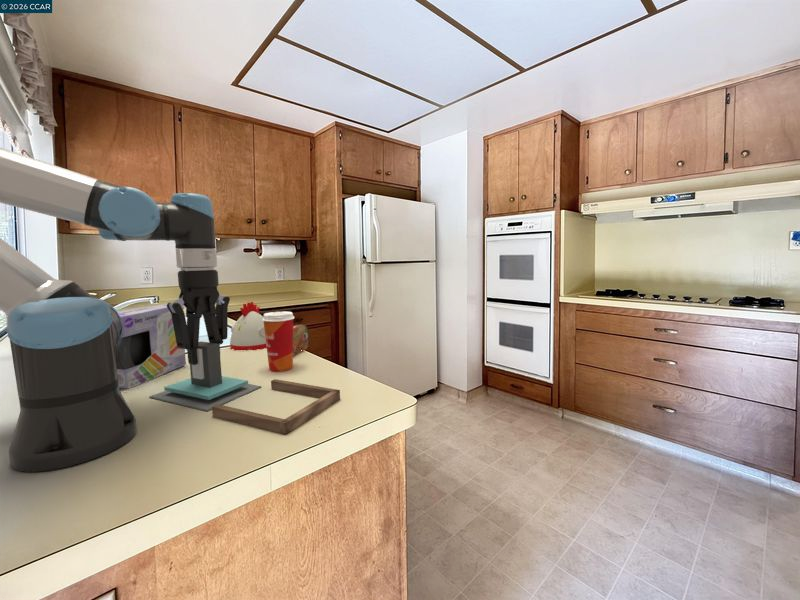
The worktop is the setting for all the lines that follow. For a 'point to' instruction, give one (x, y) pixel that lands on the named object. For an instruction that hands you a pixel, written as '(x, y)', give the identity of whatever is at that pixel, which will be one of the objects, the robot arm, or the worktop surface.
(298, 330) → the tin
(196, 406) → the grey mat
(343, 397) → the worktop surface
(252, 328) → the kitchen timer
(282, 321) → the coffee cup
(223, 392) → the cover plate
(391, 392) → the worktop surface
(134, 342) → the cake pan box
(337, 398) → the walnut frame
